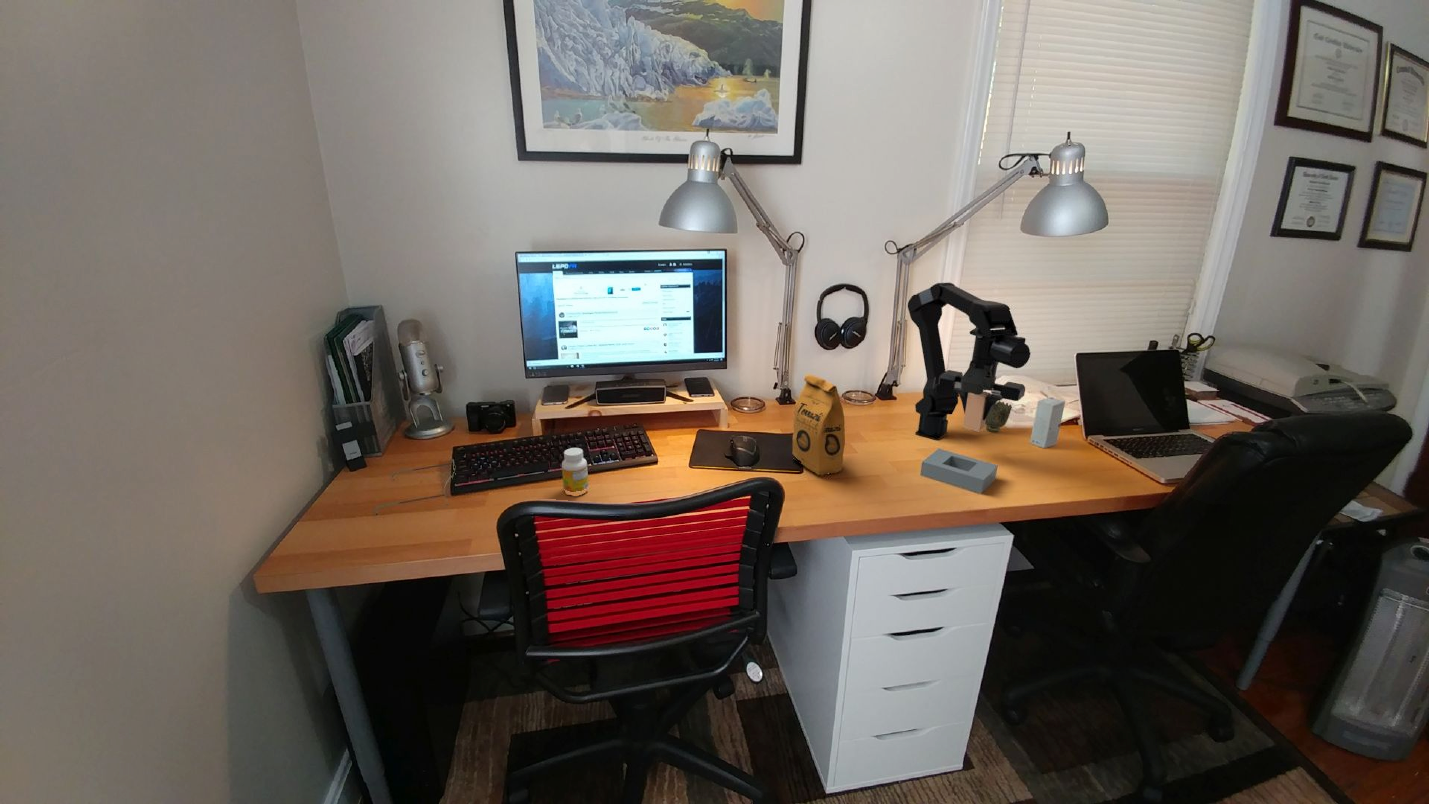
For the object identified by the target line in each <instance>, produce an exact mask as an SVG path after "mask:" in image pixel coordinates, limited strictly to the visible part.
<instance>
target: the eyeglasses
mask: <svg viewBox="0 0 1429 804" xmlns="http://www.w3.org/2000/svg"><path fill="white" fill-rule="evenodd" d="M452 463H453V464H452ZM449 465H452V467H453V468H452V469H453V470H454V472H453V470H452V475H450V476H449V478H448V479H447V480H446V482H445V484H444V487H443V494H439V495H433V496H427V497H421V498H416V499H412V500H404V501H398V502H392V503H387V504H382V505H377V506H376V507H375V508H374V514H376V513H378V509H380V508H384V507H391V506H395V505H400V504H406V503H411V502H417V501H422V500H429V499H432V498H439V497H443V498H444V501H445V503H446V504H447V503H448V501H447V499H446V493H445V492H446V491H445V489H446V486H447V483H448V482H449V480H451V478H452V479H453V477H454V473H455V470H456V467H455V468H454V466H455V460H454V459H453V458H452V462H449V463H443V464H437V465H432V466H425V467H420V468H412V469H407V470H400V471H395V472H393V473H392V474H391V476H390V477H391V478H394V476H395V475H396V474H397V475H398V474H403V473H408V472H413V471H420V470H426V469H432V468H437V467H443V466H444V467H445V466H449ZM391 478H390V479H391Z"/></svg>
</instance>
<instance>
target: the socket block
mask: <svg viewBox="0 0 1429 804" xmlns="http://www.w3.org/2000/svg"><path fill="white" fill-rule="evenodd" d="M998 468H999V465H998V464H996V463H995V464H994V463H991V462H989V461H988V462H987V461H984V460H982V459H977V458H975V457H971V456H967V455H964V454H960V453H957V452H952V451H949V450H946V449H942V448H937V449H936V450H934V452H932V453H931V454H930V455H929V456H927V457H926V458H924V459H923V460H922V462H921V466H920V474H919V475H920V476H921V477H922V476H923V477H925V478H928V479H932V480H935V481H938V482H941V481H942V483H945V484H949V485H951V484H952V485H951V486H954V487H958V488H960V487H961V488H960V489H964V490H966V489H968V490H967V491H970V492H974V493H976V492H977V494H979V495H982V494H983V493H984V492H985V491H986V490H987V488H988V487H989V486H991V484H992V483H993V482H994V481H995V480H996V477H997V472H998ZM982 492H983V493H982Z"/></svg>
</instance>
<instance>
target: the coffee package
mask: <svg viewBox="0 0 1429 804" xmlns="http://www.w3.org/2000/svg"><path fill="white" fill-rule="evenodd" d="M803 379H804V382H805V384H804V387H803V388H802V390H801V392H800V393H799V394H800V395H799V396H798V398H797V400H796V403H795V404H794V417H793V418H794V419H793V432H792V433H793V434H792V453H791V454H793V455H794V456H795V457H796V458H797V459H798V460H800V461H801V463H800V464H801V465H803V466H804V467H805V468H806V469H808V470H810V471H811V472H813V473H814V472H815V473H814V474H816V475H817V476H819V475H822V476H825V475H824V474H828V473H831V474H838V473H840V472H842V471H843V461H844V452H845V451H844V450H845V446H846V438H845V437H846V433H845V432H846V429H845V423H846V422H845V414H844V410H843V405H842V403H841V398H840V395H839V391H838V388H837V386H836V385H835V384H832V383H831V382H829V381H828V380H826V379H824V378H821V377H818V376H816V375H813V374H811V373H807V374H806V375H805V376H804V378H803ZM841 470H842V471H841ZM839 471H840V472H839ZM837 472H838V473H837Z"/></svg>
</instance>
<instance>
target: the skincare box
mask: <svg viewBox="0 0 1429 804" xmlns="http://www.w3.org/2000/svg"><path fill="white" fill-rule="evenodd" d="M1065 404H1066V401H1065V400H1061V399H1058V398H1054V397H1048V398H1047V397H1046V398H1043V399H1040V400H1038V401H1037V405H1036V410H1035V416H1034V419H1033V420H1034V421H1033V424H1032V425H1033V426H1032V431H1031V437H1030V442H1029V443H1030V444H1032V445H1034V446H1037V447H1039V448H1042V449H1047V448H1050V447H1053V446H1055V445H1057V443H1058V439H1059V435H1060V429H1061V424H1062V420H1063V415H1064V414H1063V413H1064V410H1065V409H1064V408H1065Z"/></svg>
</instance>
